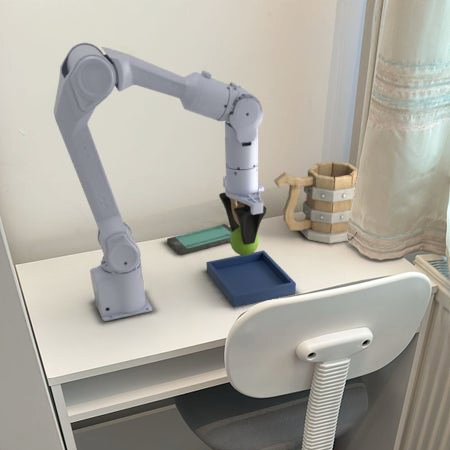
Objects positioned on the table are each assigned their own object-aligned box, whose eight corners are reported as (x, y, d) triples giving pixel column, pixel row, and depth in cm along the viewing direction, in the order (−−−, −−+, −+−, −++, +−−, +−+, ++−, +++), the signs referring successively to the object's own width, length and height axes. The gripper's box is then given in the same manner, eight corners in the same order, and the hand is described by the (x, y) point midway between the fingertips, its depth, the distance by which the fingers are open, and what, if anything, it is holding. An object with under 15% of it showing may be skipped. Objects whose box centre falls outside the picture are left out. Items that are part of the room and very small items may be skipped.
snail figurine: (242, 243, 126) (241, 183, 118) (264, 254, 122) (265, 193, 114) (221, 251, 123) (219, 191, 115) (243, 263, 119) (242, 201, 112)
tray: (295, 293, 124) (296, 283, 122) (233, 307, 120) (233, 296, 119) (263, 260, 135) (263, 250, 133) (206, 272, 132) (206, 261, 130)
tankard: (341, 216, 151) (347, 151, 142) (366, 237, 142) (374, 170, 132) (262, 229, 147) (263, 163, 137) (283, 252, 137) (285, 184, 128)
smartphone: (165, 237, 142) (225, 222, 147) (166, 243, 143) (225, 227, 148) (179, 250, 137) (240, 234, 142) (179, 256, 138) (240, 239, 143)
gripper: (279, 174, 107) (278, 248, 116) (247, 148, 118) (247, 218, 127) (241, 180, 106) (242, 255, 114) (211, 154, 116) (214, 224, 125)
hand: (242, 236), depth 120 cm, fingers closed on snail figurine, 5 cm apart
